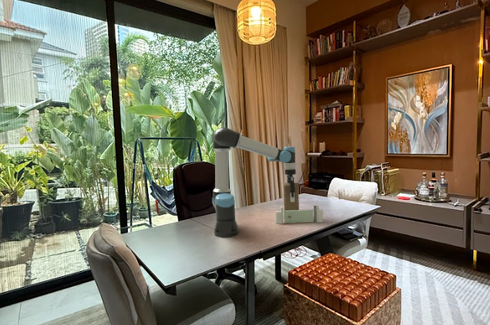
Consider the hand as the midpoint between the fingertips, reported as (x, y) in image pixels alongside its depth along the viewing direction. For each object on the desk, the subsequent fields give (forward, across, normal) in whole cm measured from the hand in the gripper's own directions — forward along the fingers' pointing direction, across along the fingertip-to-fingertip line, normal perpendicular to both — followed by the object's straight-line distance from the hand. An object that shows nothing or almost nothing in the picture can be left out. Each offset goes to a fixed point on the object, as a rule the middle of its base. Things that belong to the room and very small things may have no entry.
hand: (291, 200), depth 185 cm
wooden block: (+9, 0, 0) cm, 9 cm away
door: (+13, -11, -3) cm, 17 cm away
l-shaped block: (+13, -10, -3) cm, 17 cm away
